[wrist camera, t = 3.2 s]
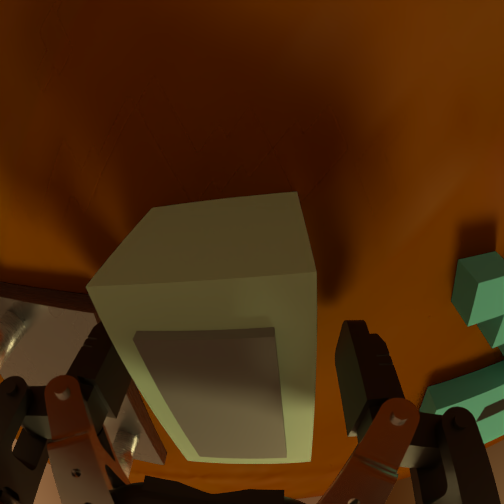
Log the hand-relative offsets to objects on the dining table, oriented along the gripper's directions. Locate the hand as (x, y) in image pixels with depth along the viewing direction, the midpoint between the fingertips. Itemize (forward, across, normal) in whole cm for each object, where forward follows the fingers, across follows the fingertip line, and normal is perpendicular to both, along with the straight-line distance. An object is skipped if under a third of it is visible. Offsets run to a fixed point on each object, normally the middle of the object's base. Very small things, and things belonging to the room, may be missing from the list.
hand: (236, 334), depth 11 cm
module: (+2, 0, 0) cm, 2 cm away
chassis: (+2, +12, +8) cm, 14 cm away
